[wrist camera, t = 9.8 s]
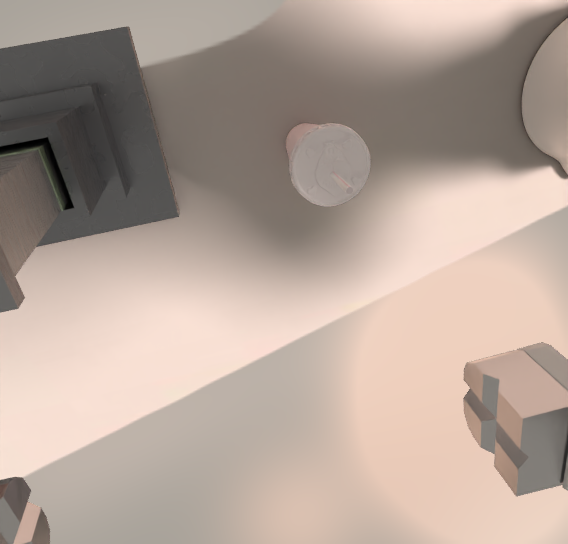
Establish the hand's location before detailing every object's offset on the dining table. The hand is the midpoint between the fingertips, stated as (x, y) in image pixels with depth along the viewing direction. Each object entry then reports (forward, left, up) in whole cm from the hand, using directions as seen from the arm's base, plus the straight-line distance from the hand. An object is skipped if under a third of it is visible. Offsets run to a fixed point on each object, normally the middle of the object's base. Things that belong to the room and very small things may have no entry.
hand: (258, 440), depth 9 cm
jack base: (+12, 0, -39) cm, 41 cm away
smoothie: (-9, +4, -39) cm, 41 cm away
